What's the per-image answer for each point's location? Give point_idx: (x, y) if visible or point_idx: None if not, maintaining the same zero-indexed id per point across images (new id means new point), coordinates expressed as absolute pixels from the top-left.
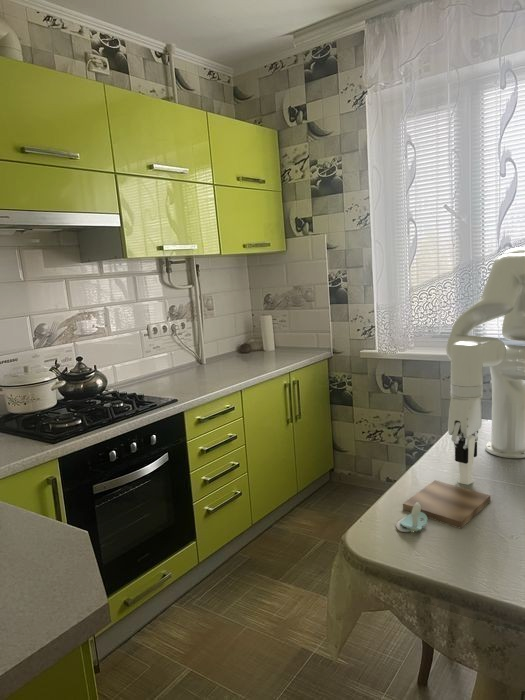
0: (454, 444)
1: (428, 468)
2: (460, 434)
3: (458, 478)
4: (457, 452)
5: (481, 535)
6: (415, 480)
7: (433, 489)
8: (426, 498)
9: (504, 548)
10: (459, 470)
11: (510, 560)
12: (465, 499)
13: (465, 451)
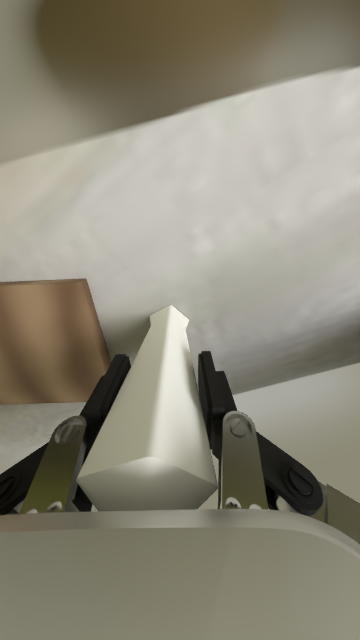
0: (50, 438)
1: (186, 180)
2: (112, 508)
3: (163, 311)
4: (89, 401)
5: (12, 415)
6: (63, 203)
7: (26, 310)
8: None
9: (16, 438)
10: (146, 335)
11: (3, 447)
12: (57, 380)
13: None
